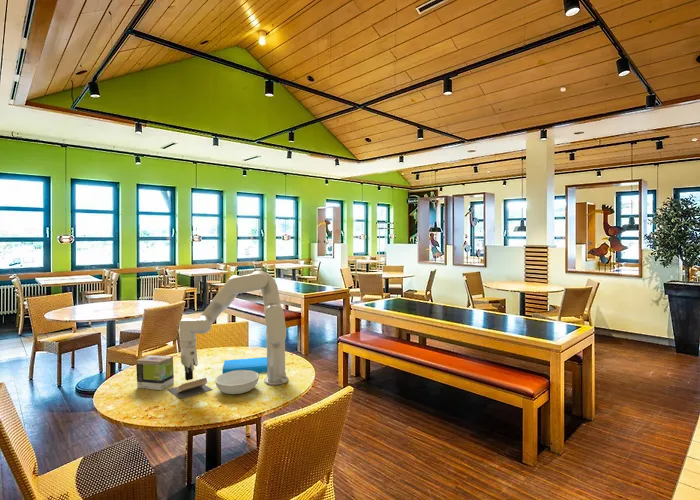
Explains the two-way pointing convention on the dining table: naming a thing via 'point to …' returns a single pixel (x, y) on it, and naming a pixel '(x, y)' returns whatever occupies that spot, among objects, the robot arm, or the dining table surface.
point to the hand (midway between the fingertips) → (189, 379)
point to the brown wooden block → (191, 385)
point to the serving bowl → (237, 381)
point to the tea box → (155, 372)
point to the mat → (189, 391)
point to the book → (246, 365)
